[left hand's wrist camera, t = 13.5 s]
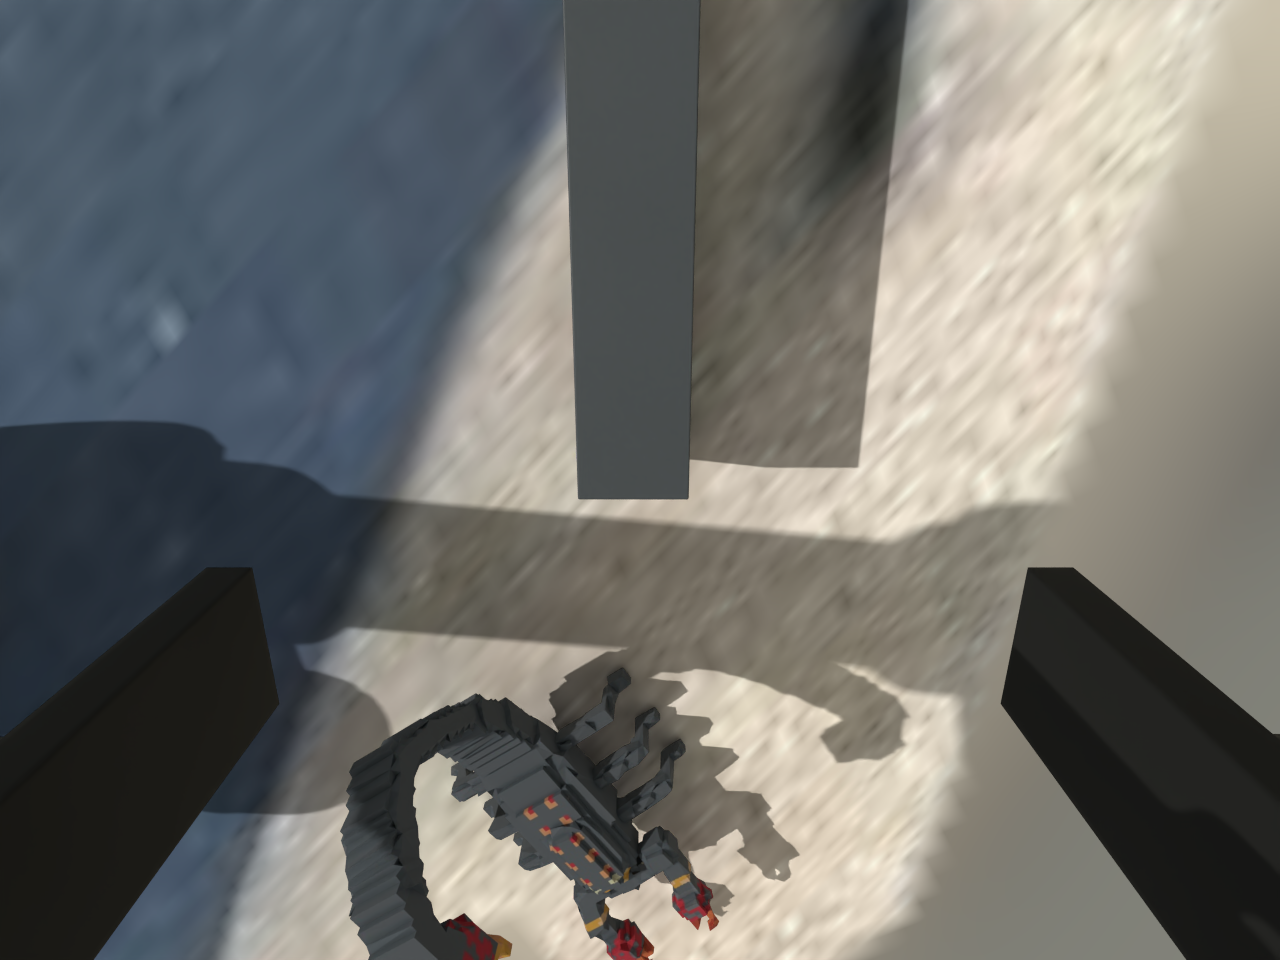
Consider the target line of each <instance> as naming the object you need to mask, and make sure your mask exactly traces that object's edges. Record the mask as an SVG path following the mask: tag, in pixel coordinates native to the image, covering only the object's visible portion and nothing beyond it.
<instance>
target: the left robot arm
mask: <svg viewBox="0 0 1280 960" xmlns="http://www.w3.org/2000/svg"><path fill="white" fill-rule="evenodd" d="M278 705H279V700H278V695H277V690H276V685H275V680H274V675H273V670H272V665H271V660H270V655H269V650H268V645H267V640H266V635H265V630H264V625H263V620H262V615H261V610H260V605H259V600H258V595H257V590H256V585H255V580H254V575H253V570H252V568H206V569H204V570H203V571H202V572H201V573H200V574H198V575H197V576H196V577H195V578H194V579H192V580H191V581H190V582H189V583H188V584H186V585H185V586H184V587H183V588H182V589H181V590H179V591H178V592H177V593H176V594H175V595H173V596H172V597H171V598H170V599H169V600H167V601H166V602H165V603H164V604H163V605H161V606H160V607H159V608H158V609H157V610H155V611H154V612H153V613H152V614H151V615H149V616H148V617H147V618H146V619H145V620H143V621H142V622H141V623H140V624H139V625H137V626H136V627H135V628H134V629H133V630H131V631H130V632H129V633H128V634H127V635H125V636H124V637H123V638H122V639H121V640H119V641H118V642H117V643H116V644H115V645H113V646H112V647H111V648H110V649H109V650H107V651H106V652H105V653H104V654H103V655H101V656H100V657H99V658H98V659H97V660H95V661H94V662H93V663H92V664H91V665H89V666H88V667H87V668H86V669H85V670H83V671H82V672H81V673H80V674H79V675H77V676H76V677H75V678H74V679H73V680H71V681H70V682H69V683H68V684H67V685H65V686H64V687H63V688H62V689H61V690H59V691H58V692H57V693H56V694H55V695H53V696H52V697H51V698H50V699H49V700H47V701H46V702H45V703H44V704H43V705H41V706H40V707H39V708H38V709H37V710H35V711H34V712H33V713H32V714H31V715H29V716H28V717H27V718H26V719H25V720H23V721H22V722H21V723H20V724H19V725H17V726H16V727H15V728H14V729H13V730H11V731H10V732H9V733H8V734H7V735H5V736H4V737H0V960H94V958H95V957H96V956H97V954H98V953H99V952H100V950H101V949H102V947H103V946H104V945H105V943H106V942H107V941H108V939H109V938H110V936H111V935H112V934H113V932H114V931H115V930H116V928H117V927H118V925H119V924H120V923H121V921H122V920H123V918H124V917H125V916H126V914H127V913H128V912H129V910H130V909H131V907H132V906H133V905H134V903H135V902H136V901H137V899H138V898H139V896H140V895H141V894H142V892H143V891H144V890H145V888H146V887H147V885H148V884H149V883H150V881H151V880H152V879H153V877H154V876H155V874H156V873H157V872H158V870H159V869H160V867H161V866H162V865H163V863H164V862H165V861H166V859H167V858H168V856H169V855H170V854H171V852H172V851H173V850H174V848H175V847H176V845H177V844H178V843H179V841H180V840H181V839H182V837H183V836H184V834H185V833H186V832H187V830H188V829H189V827H190V826H191V825H192V823H193V822H194V821H195V819H196V818H197V816H198V815H199V814H200V812H201V811H202V810H203V808H204V807H205V805H206V804H207V803H208V801H209V800H210V799H211V797H212V796H213V794H214V793H215V792H216V790H217V789H218V787H219V786H220V785H221V783H222V782H223V781H224V779H225V778H226V776H227V775H228V774H229V772H230V771H231V770H232V768H233V767H234V765H235V764H236V763H237V761H238V760H239V759H240V757H241V756H242V754H243V753H244V752H245V750H246V749H247V747H248V746H249V745H250V743H251V742H252V741H253V739H254V738H255V736H256V735H257V734H258V732H259V731H260V730H261V728H262V727H263V725H264V724H265V723H266V721H267V720H268V719H269V717H270V716H271V714H272V713H273V712H274V710H275V709H276V707H277V706H278ZM1001 705H1002V706H1003V707H1004V709H1005V710H1006V712H1007V713H1008V714H1009V716H1010V717H1011V719H1012V720H1013V721H1014V723H1015V724H1016V725H1017V727H1018V728H1019V730H1020V731H1021V732H1022V734H1023V735H1024V736H1025V738H1026V739H1027V741H1028V742H1029V743H1030V745H1031V746H1032V747H1033V749H1034V750H1035V752H1036V753H1037V754H1038V756H1039V757H1040V758H1041V760H1042V761H1043V763H1044V764H1045V765H1046V767H1047V768H1048V769H1049V771H1050V772H1051V774H1052V775H1053V776H1054V778H1055V779H1056V781H1057V782H1058V783H1059V785H1060V786H1061V787H1062V789H1063V790H1064V792H1065V793H1066V794H1067V796H1068V797H1069V799H1070V800H1071V801H1072V803H1073V804H1074V805H1075V807H1076V808H1077V810H1078V811H1079V812H1080V814H1081V815H1082V816H1083V818H1084V819H1085V821H1086V822H1087V823H1088V825H1089V826H1090V827H1091V829H1092V830H1093V831H1094V833H1095V834H1096V836H1097V837H1098V839H1099V840H1100V841H1101V843H1102V844H1103V845H1104V847H1105V848H1106V849H1107V851H1108V852H1109V854H1110V855H1111V856H1112V858H1113V859H1114V861H1115V862H1116V863H1117V865H1118V866H1119V867H1120V869H1121V870H1122V872H1123V873H1124V874H1125V876H1126V877H1127V879H1128V880H1129V881H1130V883H1131V884H1132V885H1133V887H1134V888H1135V890H1136V891H1137V892H1138V894H1139V895H1140V896H1141V898H1142V899H1143V900H1144V902H1145V903H1146V905H1147V906H1148V907H1149V909H1150V910H1151V912H1152V913H1153V914H1154V916H1155V917H1156V918H1157V920H1158V921H1159V923H1160V924H1161V925H1162V927H1163V928H1164V930H1165V931H1166V932H1167V934H1168V935H1169V936H1170V938H1171V939H1172V941H1173V942H1174V943H1175V945H1176V946H1177V947H1178V949H1179V950H1180V952H1181V953H1182V954H1183V956H1184V957H1185V958H1186V960H1280V734H1272V733H1271V732H1270V731H1269V730H1267V729H1266V728H1265V727H1264V726H1263V725H1261V724H1260V723H1259V722H1258V721H1257V720H1255V719H1254V718H1253V717H1252V716H1251V715H1249V714H1248V713H1247V712H1246V711H1245V710H1243V709H1242V708H1241V707H1240V706H1239V705H1237V704H1236V703H1235V702H1234V701H1233V700H1231V699H1230V698H1229V697H1228V696H1227V695H1225V694H1224V693H1223V692H1222V691H1221V690H1219V689H1218V688H1217V687H1216V686H1215V685H1213V684H1212V683H1211V682H1210V681H1209V680H1207V679H1206V678H1205V677H1204V676H1203V675H1201V674H1200V673H1199V672H1198V671H1197V670H1195V669H1194V668H1193V667H1192V666H1191V665H1189V664H1188V663H1187V662H1186V661H1185V660H1183V659H1182V658H1181V657H1180V656H1179V655H1177V654H1176V653H1175V652H1174V651H1173V650H1171V649H1170V648H1169V647H1168V646H1167V645H1165V644H1164V643H1163V642H1162V641H1161V640H1159V639H1158V638H1157V637H1156V636H1155V635H1153V634H1152V633H1151V632H1150V631H1148V630H1147V629H1146V628H1145V627H1144V626H1143V625H1141V624H1140V623H1139V622H1138V621H1137V620H1135V619H1134V618H1133V617H1132V616H1131V615H1129V614H1128V613H1127V612H1126V611H1125V610H1123V609H1122V608H1121V607H1120V606H1119V605H1117V604H1116V603H1115V602H1114V601H1113V600H1111V599H1110V598H1109V597H1108V596H1107V595H1105V594H1104V593H1103V592H1102V591H1101V590H1099V589H1098V588H1097V587H1096V586H1095V585H1094V584H1092V583H1091V582H1090V581H1089V580H1088V579H1086V578H1085V577H1084V576H1083V575H1081V574H1080V573H1079V572H1078V571H1077V570H1076V569H1074V568H1028V570H1027V575H1026V580H1025V585H1024V590H1023V595H1022V600H1021V605H1020V610H1019V615H1018V620H1017V625H1016V630H1015V635H1014V640H1013V645H1012V650H1011V655H1010V660H1009V665H1008V670H1007V675H1006V680H1005V685H1004V690H1003V695H1002V700H1001Z"/></svg>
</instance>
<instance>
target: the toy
mask: <svg viewBox="0 0 1280 960" xmlns="http://www.w3.org/2000/svg"><path fill="white" fill-rule="evenodd" d="M607 679H608V685H607V686H606V687H605V688H604V690H603V696H602V703H600V704H599V705H597V706H596V707H594V708H593V709H591V710H590V711H589V712H587V713H586V714H585V715H584V716H583V717H581V718H579V719H577V720H576V721H574V722H572V723H570V724H569V725H567V726H565V727H564V728H562V729H560V731H559V732H558V733H557V732H556V731H555V730H553V729H552V728H550V727H549V726H547V725H546V724H544V723H543V722H541V721H540V720H538V719H536V718H534V717H532V716H530V715H528V714H527V713H525V712H524V711H523V710H522V709H520V708H519V707H518V706H516V705H515V704H514V703H512V701H510V700H509V699H507V698H506V697H505V698H504V699H502V700H500V701H497V700H496V699H495V700H492V699H490V700H486V699H484V698H483V697H482V696H481V695H480V694H479V695H478V694H474V695H472V696H471V697H469V698H467V699H466V700H464V701H462V702H461V703H457V704H455V705H454V706H451V707H450V706H449V705H447V706H446V707H444V708H441V709H439V710H438V711H436V712H433V713H432V714H430V715H428V716H427V717H425V718H423V719H420V720H418V721H416V722H415V723H413V724H411V725H410V726H408V727H406V728H405V729H403V730H401V731H400V732H398V733H396V734H395V735H393V736H391V737H390V738H388V739H386V740H385V741H383V743H382V745H381V747H380V748H378V749H376V750H375V751H373V752H371V753H370V754H368V755H366V756H365V757H363V758H361V759H360V760H358V761H356V762H355V763H354V764H353V766H352V768H351V770H350V771H349V773H350V775H351V776H352V780H351V782H350V784H349V786H348V788H347V793H348V794H349V795H350V797H349V800H348V802H347V804H346V807H347V808H348V810H349V813H348V816H347V818H346V820H345V822H344V824H343V826H342V829H341V831H340V832H341V833H342V834H343V837H342V840H341V842H342V845H343V848H344V851H345V854H346V868H345V872H346V875H347V878H348V890H349V891H350V892H351V895H352V898H351V902H352V903H353V904H352V908H351V911H350V914H349V916H351V918H350V919H351V920H352V921H353V922H354V923H355V924H356V925H358V926H359V927H360V929H359V932H358V934H357V935H358V936H359V937H360V938H361V940H362V941H363V942H364V943H365V945H366V946H367V949H368V951H369V954H370V956H369V959H368V960H498V959H500V958H504V957H509V956H510V954H511V949H512V943H510V942H509V941H507V940H506V939H504V938H503V937H501V936H499V935H490V934H486V933H485V932H484V931H483V930H482V929H480V928H479V927H478V926H477V925H476V924H474V923H473V921H472V920H471V919H470V918H469V917H468V916H467V915H466V914H465V913H464V914H462V915H460V916H459V917H457V918H455V919H454V920H452V919H449V920H447V921H445V922H443V923H441V924H440V923H439V921H438V920H437V918H436V917H435V915H434V913H433V908H432V904H431V902H430V900H429V899H428V898H427V894H428V891H429V890H428V888H427V886H426V880H425V879H424V878H423V877H422V875H423V867H424V863H423V862H422V860H421V859H420V858H419V845H420V841H419V838H418V825H417V821H416V817H415V815H416V808H415V807H414V806H413V795H414V792H415V790H416V788H415V787H414V777H415V775H416V772H417V770H418V767H419V765H420V764H422V763H424V762H425V761H427V760H428V759H430V758H432V757H434V755H435V754H436V753H437V752H438V753H440V754H441V755H443V756H444V757H446V758H449V757H451V758H452V759H453V760H454V761H455V762H456V761H458V762H459V763H457V764H455V765H454V766H452V767H451V775H453V776H457V778H456V781H455V782H454V784H453V787H452V793H451V794H452V795H453V796H454V797H455V798H456V799H457V800H458V801H459V802H461V801H466V800H468V799H469V798H471V797H473V796H474V795H476V794H478V796H480V795H482V794H483V793H485V792H486V791H487V792H488V793H489V794H491V795H492V796H493V798H492V799H490V800H488V801H486V802H485V804H484V808H483V809H484V810H485V811H486V812H487V813H488V815H489V816H490V817H491V818H492V817H494V818H495V819H494V820H493V822H492V824H491V826H490V828H489V830H488V831H489V833H490V834H491V835H493V836H494V837H495V838H496V839H499V840H502V839H504V838H506V837H508V836H510V835H512V834H514V833H515V834H514V839H513V841H514V842H515V843H516V844H517V845H518V846H520V845H522V847H521V852H520V858H519V863H518V864H519V865H520V866H521V867H522V868H524V869H525V870H529V871H531V870H534V869H537V868H540V867H543V866H546V865H548V864H550V863H552V862H554V863H555V864H556V866H557V867H558V868H559V869H560V870H561V871H562V872H563V873H564V874H565V875H566V876H567V877H568V878H569V879H570V880H573V879H574V881H575V886H574V900H575V902H576V904H577V905H578V908H579V912H580V914H581V917H582V919H583V921H584V924H585V928H586V931H587V933H588V935H589V937H590V939H591V938H593V937H597V938H599V939H601V940H603V941H604V942H605V943H606V944H607V953H608V955H609V956H610V957H611V958H612V959H613V960H649V958H648V957H649V956H650V955H652V954H653V952H654V946H653V945H652V944H651V943H650V942H649V940H648V939H647V938H646V937H645V936H644V935H643V934H642V932H641V931H640V929H639V928H638V926H637V925H636V923H635V922H632V923H631V921H630V920H629V919H626V920H624V921H622V920H619V919H616V918H613V917H611V916H610V915H609V908H608V906H607V905H606V904H605V898H607V897H610V898H614V897H616V896H618V895H620V894H622V893H623V894H624V893H626V892H629V891H631V890H634V889H637V890H639V888H640V884H642V883H643V882H645V881H646V880H648V879H650V878H651V877H653V876H654V875H655V874H656V875H657V874H658V873H660V872H661V871H664V874H665V876H666V877H667V878H668V880H669V881H670V883H671V884H672V885H673V891H674V892H673V894H672V903H673V907H674V909H675V910H676V911H677V912H678V913H679V914H680V915H681V916H682V918H684V917H685V918H686V919H687V920H690V922H691V923H692V924H693V925H694V926H695V927H696V929H697V930H698V929H699V926H700V921H701V918H702V917H704V916H706V915H707V916H708V917H709V920H708V925H709V929H710V931H711V930H712V929H713V928H715V927H716V926H717V925H718V922H719V920H718V919H717V918H716V916H715V915H714V914H713V912H712V909H711V906H710V899H712V898H713V894H712V890H711V889H710V888H708V887H707V886H706V884H705V882H704V881H702V880H700V879H698V878H697V877H696V876H695V875H694V874H693V873H692V872H691V864H690V863H689V861H688V860H687V859H686V857H685V856H684V855H683V854H682V852H681V851H680V850H679V848H678V842H677V838H676V837H675V836H674V835H673V834H672V833H671V832H670V831H668V830H664V829H663V828H662V827H660V826H659V827H655V828H654V829H652V830H650V831H649V832H647V833H646V834H644V836H643V841H642V842H640V843H638V831H637V830H636V828H635V827H634V826H633V825H632V819H633V818H634V817H636V816H638V815H639V814H641V813H643V812H644V811H646V810H647V809H649V808H650V807H652V806H653V805H654V804H656V803H657V802H659V801H660V800H662V799H663V798H664V797H666V796H667V795H668V794H669V793H670V792H671V791H672V787H673V771H674V761H675V760H676V759H678V758H679V757H681V756H682V755H683V754H684V753H685V752H686V751H685V745H684V743H683V742H682V741H681V740H680V739H679V740H678V741H676V742H674V743H673V744H671V745H669V746H668V747H666V748H665V749H664V750H663V751H662V752H661V765H660V771H659V772H658V773H657V775H656V776H655V777H654V778H653V779H651V780H650V781H648V782H647V783H645V784H644V785H642V786H641V787H639V788H638V789H636V790H634V791H632V792H630V793H629V794H627V795H626V796H625V797H624V798H617V790H616V789H615V788H614V786H613V785H612V784H611V783H613V782H615V781H617V780H619V779H620V777H621V776H622V775H623V774H624V773H625V772H626V771H628V770H629V769H631V768H633V767H635V766H636V765H638V764H639V763H640V762H641V761H642V760H643V758H644V757H645V756H646V755H647V754H648V752H649V743H648V729H649V728H651V727H652V726H653V725H654V724H656V723H657V722H658V721H659V720H660V713H659V712H658V711H657V710H656V708H655V707H654V708H652V709H651V710H649V711H647V712H645V713H643V714H642V715H640V716H638V717H636V718H635V737H634V738H632V739H631V743H630V744H628V745H625V746H623V747H622V748H620V749H619V750H617V751H616V752H614V753H613V754H611V755H610V756H608V757H607V758H605V759H604V760H602V761H601V762H599V764H598V765H597V766H595V764H594V763H593V762H592V761H591V760H590V759H589V758H588V757H587V756H586V755H585V754H584V753H583V752H582V751H581V750H580V749H579V748H578V747H577V746H576V744H577V743H579V742H581V741H582V740H584V739H586V738H587V737H589V736H590V735H592V734H594V733H595V732H597V731H598V730H600V729H601V728H603V727H604V726H606V725H607V724H609V723H610V722H612V721H613V720H614V707H615V702H616V699H617V697H618V694H619V693H620V692H621V691H622V690H624V689H625V688H626V687H627V686H628V685H630V684H631V677H630V676H629V675H628V673H627V672H626V671H625V670H624V668H621V669H620V670H618V671H616V672H614V673H613V674H611V675H609V676H607ZM473 771H474V772H473ZM516 832H517V833H516ZM651 960H652V959H651Z"/></svg>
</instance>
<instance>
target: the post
mask: <svg viewBox="0 0 1280 960" xmlns="http://www.w3.org/2000/svg"><path fill="white" fill-rule="evenodd" d="M563 28H564V60H565V92H566V125H567V157H568V189H569V222H570V254H571V286H572V319H573V351H574V383H575V416H576V448H577V480H578V499H688V498H689V457H690V416H691V374H692V332H693V291H694V249H695V208H696V166H697V124H698V83H699V41H700V0H563Z"/></svg>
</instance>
